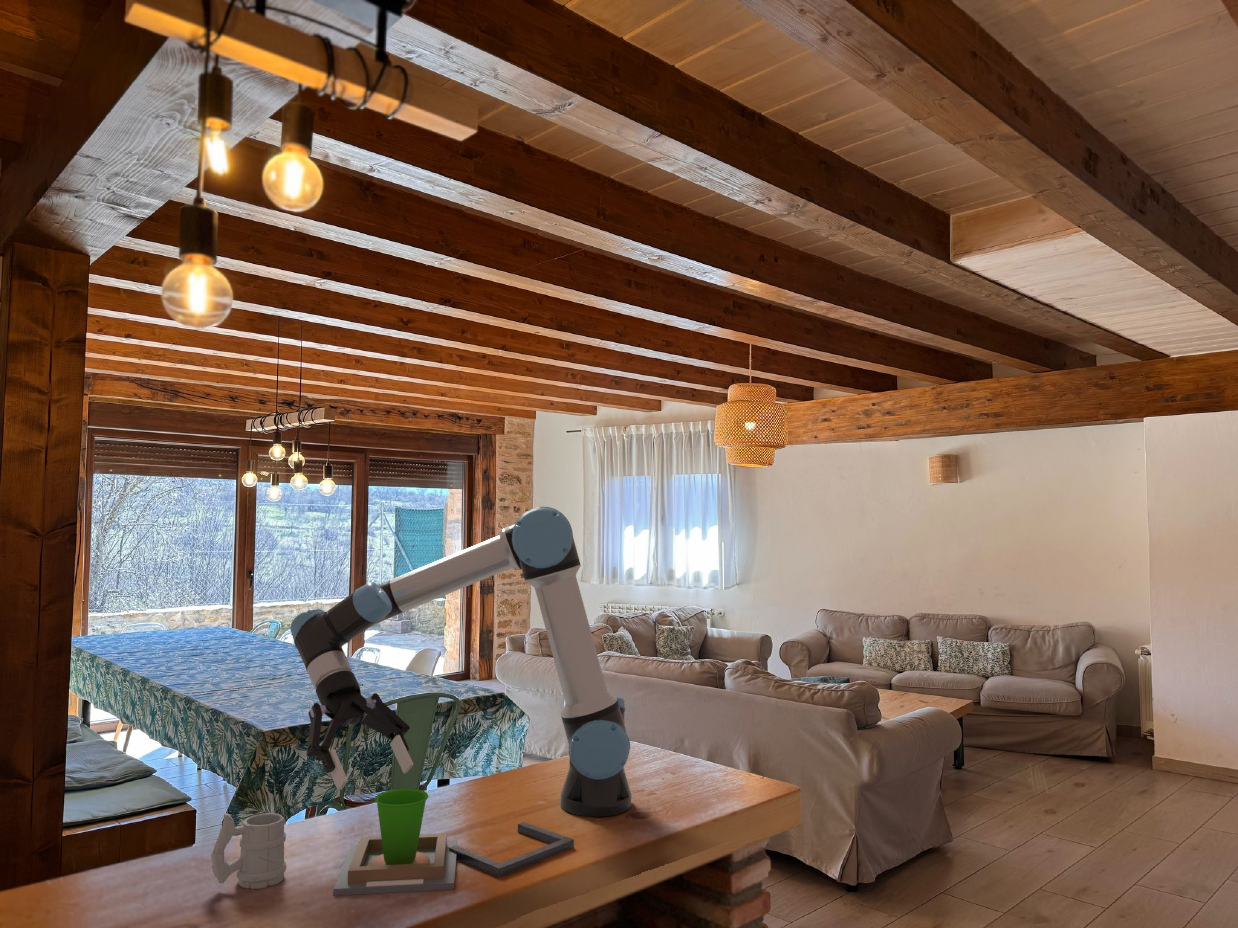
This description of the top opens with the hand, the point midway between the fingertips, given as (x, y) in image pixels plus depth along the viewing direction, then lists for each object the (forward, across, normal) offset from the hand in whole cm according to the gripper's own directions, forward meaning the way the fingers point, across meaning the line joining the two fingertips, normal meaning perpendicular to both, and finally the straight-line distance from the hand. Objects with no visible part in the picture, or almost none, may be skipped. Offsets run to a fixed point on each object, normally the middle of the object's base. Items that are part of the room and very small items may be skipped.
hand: (377, 777), depth 153 cm
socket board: (+15, 0, -5) cm, 16 cm away
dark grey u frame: (+21, -19, +1) cm, 28 cm away
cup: (+14, 0, -4) cm, 15 cm away
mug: (+6, +20, -14) cm, 25 cm away
